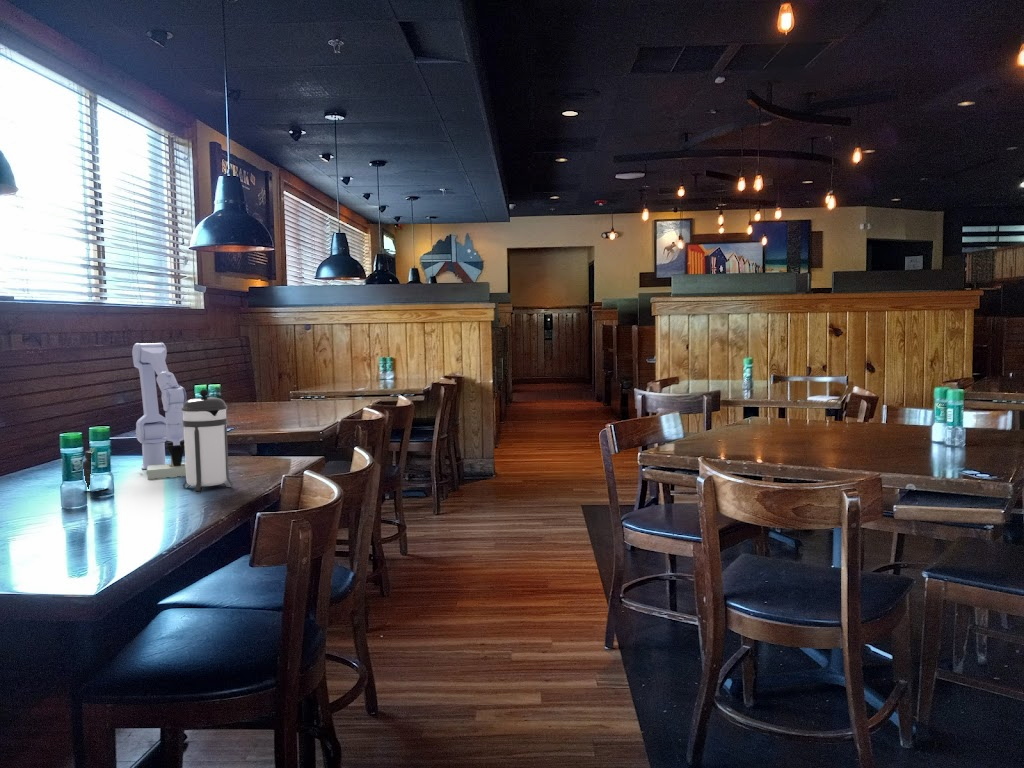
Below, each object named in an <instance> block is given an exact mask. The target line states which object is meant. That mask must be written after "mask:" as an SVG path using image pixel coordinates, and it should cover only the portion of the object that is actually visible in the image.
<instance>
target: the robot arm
mask: <svg viewBox="0 0 1024 768" xmlns="http://www.w3.org/2000/svg"><path fill="white" fill-rule="evenodd" d="M131 351H132V352H131V353H132V362H133V367H134V368H136V369H138V372H139V380H140V388H141V390H140V391H141V398H142V408H143V415H142V416H141V417H140V418H138V419H137V421H136V423H135V426H136V428H135V437H136V440H137V441H138V442H139V443H140V444H141V450H142V452H141V453H142V464H141V470H147V466H149V465H162V464H168V463H167V462H166V449H165V447H166V446H167V449H168V451H169V453H170V458H171V457H172V461H173V465H174V466H181V463H183V462H182V461H183V454H184V452H185V443H184V426H183V412H182V409H181V408H182V407H183V405H184V403H185V402H186V401H187V392H186V389H185V387H183V386H182V385H180V384H179V382H178V381H177V378H176V376H175V375H174V373H173V372H170V370H169V369H168V365H167V363H166V360H167V354H168V353H167V351H168V350H167V346H166V345H165V343H164V342H155V343H154V342H152V343H151V342H150V343H149V342H148V343H147V342H145V343H144V342H143V343H139V342H136V343H134V344H133V346H132V350H131ZM156 375H157V376H156ZM156 383H157V384H156ZM157 385H158V387H159V389H160V391H161V402H162V405H163V411H164V413H165V415H164V416H163V415H162V414H160V411H159V400H158V391H157ZM167 441H168V442H167ZM165 442H166V443H165ZM165 444H166V445H165Z"/></svg>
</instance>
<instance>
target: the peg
mask: <svg viewBox="0 0 1024 768" xmlns="http://www.w3.org/2000/svg"><path fill="white" fill-rule="evenodd" d="M170 464H171V467H178V466H174V465H173V461H172V457H171V456H170Z"/></svg>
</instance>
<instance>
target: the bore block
mask: <svg viewBox="0 0 1024 768" xmlns="http://www.w3.org/2000/svg"><path fill="white" fill-rule="evenodd" d="M146 470H147V480H155V478H158V479H167V478H166V477H170V478H178V477H177V476H181V477H186V464H185V462H182V463H181V466H178V467H171V463H167V464H162V465H149V466H147V469H146Z"/></svg>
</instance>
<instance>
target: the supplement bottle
mask: <svg viewBox="0 0 1024 768" xmlns="http://www.w3.org/2000/svg"><path fill="white" fill-rule="evenodd" d="M91 450H92V449H91ZM91 450H86V451H84V458H85V460H84V461H82V463H83V469H84V476H85V481H86V483H87V487H88V489H89V485H90V474H91Z"/></svg>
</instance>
